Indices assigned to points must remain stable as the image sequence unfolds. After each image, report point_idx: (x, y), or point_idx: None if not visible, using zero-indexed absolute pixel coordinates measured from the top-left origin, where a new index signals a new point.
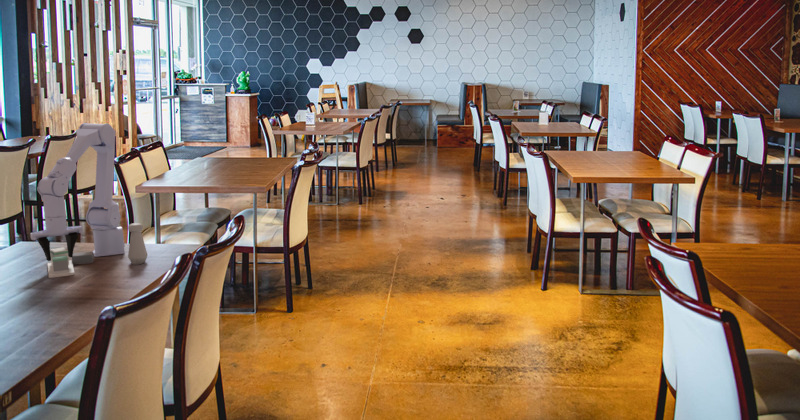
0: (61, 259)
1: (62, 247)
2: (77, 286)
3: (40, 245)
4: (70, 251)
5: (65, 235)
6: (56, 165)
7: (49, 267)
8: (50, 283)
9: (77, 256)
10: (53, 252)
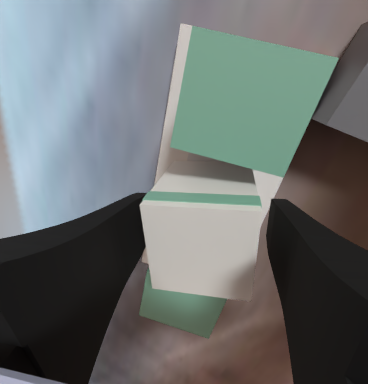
0: (179, 327)
1: (249, 215)
2: (194, 363)
3: (38, 232)
4: (274, 276)
5: (360, 319)
6: None
7: (167, 151)
8: (140, 302)
9: (363, 138)
10: (153, 273)
